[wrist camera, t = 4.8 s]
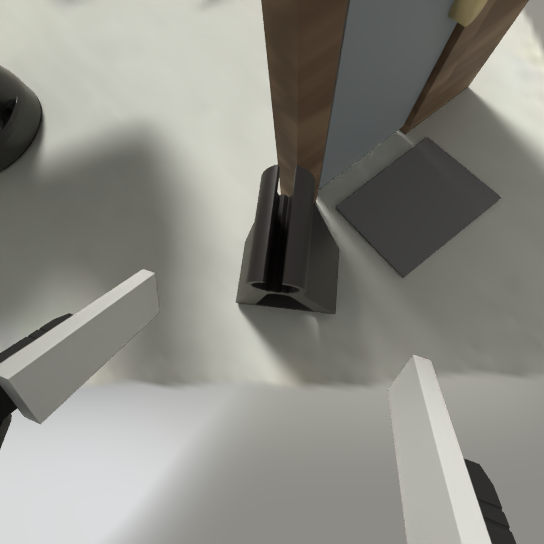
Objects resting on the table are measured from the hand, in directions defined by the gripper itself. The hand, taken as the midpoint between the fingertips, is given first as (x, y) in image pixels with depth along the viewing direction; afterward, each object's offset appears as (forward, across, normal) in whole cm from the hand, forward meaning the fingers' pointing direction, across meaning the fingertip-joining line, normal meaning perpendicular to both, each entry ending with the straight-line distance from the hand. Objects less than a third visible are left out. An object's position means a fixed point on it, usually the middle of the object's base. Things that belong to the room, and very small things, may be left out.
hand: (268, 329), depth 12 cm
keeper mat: (+18, +9, +4) cm, 20 cm away
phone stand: (+10, -1, -4) cm, 11 cm away
